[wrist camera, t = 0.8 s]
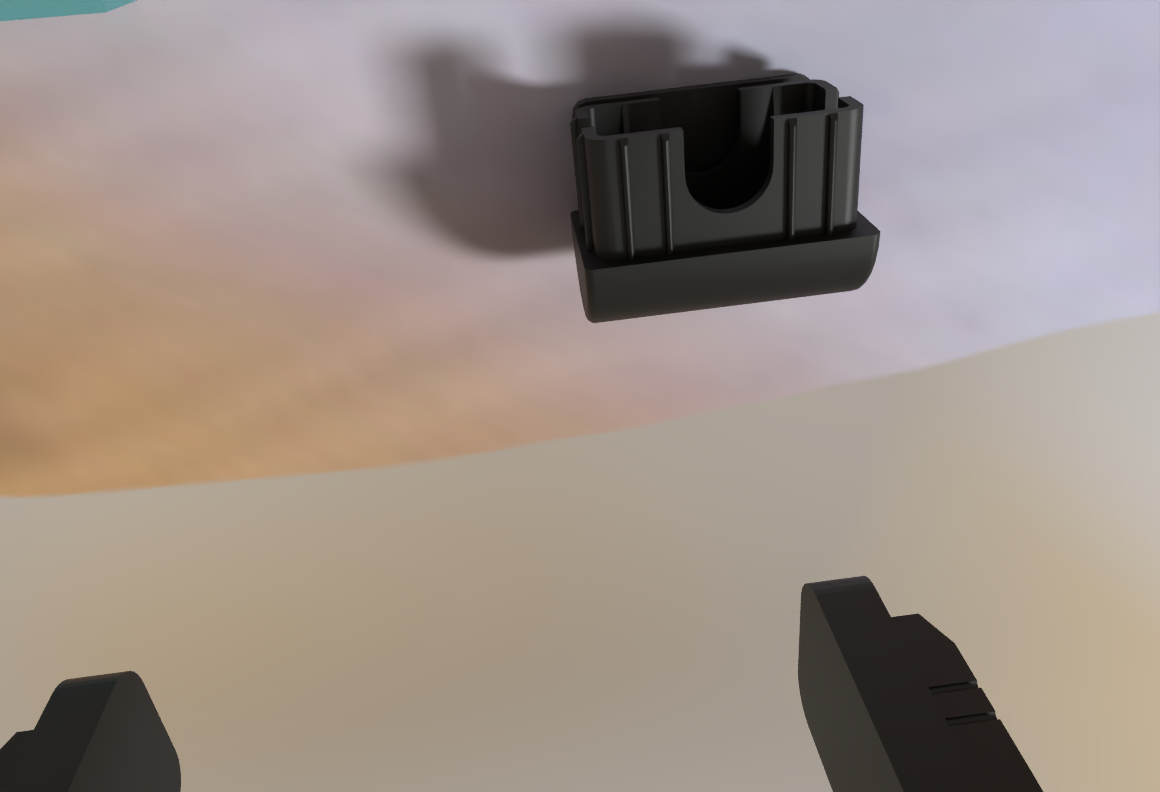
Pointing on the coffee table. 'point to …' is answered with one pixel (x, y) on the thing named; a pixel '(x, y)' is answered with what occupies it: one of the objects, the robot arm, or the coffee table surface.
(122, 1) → the socket block
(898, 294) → the coffee table surface
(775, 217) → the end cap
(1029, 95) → the coffee table surface
